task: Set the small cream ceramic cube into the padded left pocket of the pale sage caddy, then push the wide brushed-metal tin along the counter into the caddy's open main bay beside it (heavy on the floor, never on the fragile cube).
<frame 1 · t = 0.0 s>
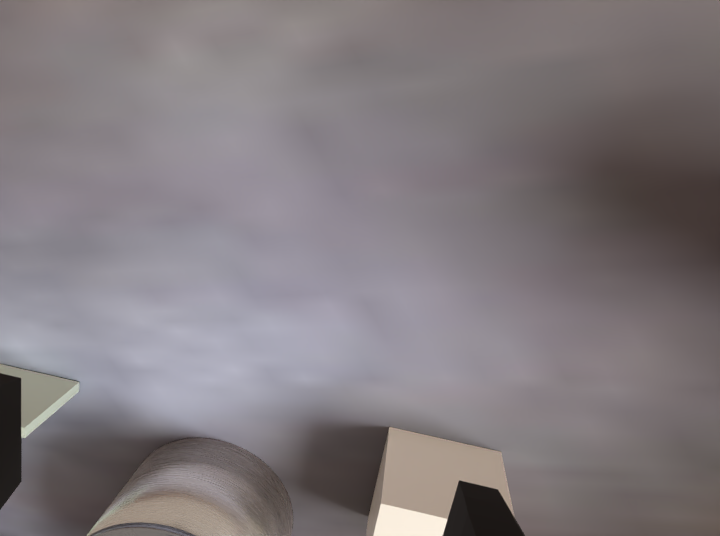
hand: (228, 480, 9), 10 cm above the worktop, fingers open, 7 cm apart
cube: (432, 483, 21), on the worktop
tin: (212, 508, 22), on the worktop
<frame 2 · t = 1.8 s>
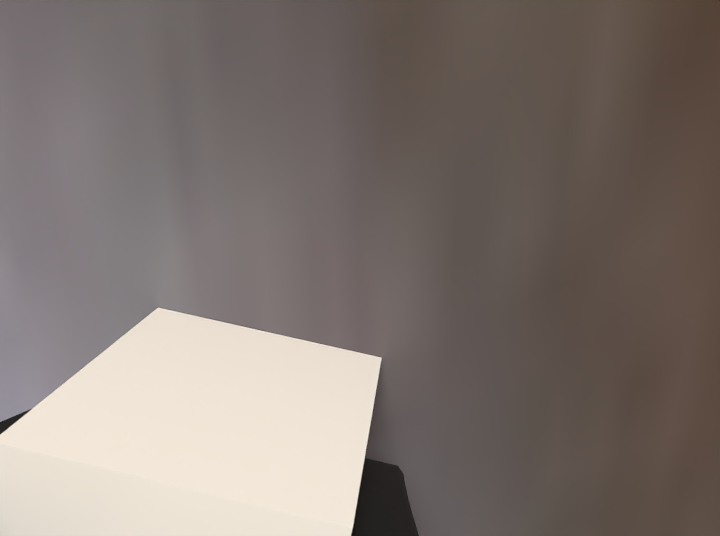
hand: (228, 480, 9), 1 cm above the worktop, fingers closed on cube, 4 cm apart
cube: (254, 429, 10), on the worktop, touching gripper
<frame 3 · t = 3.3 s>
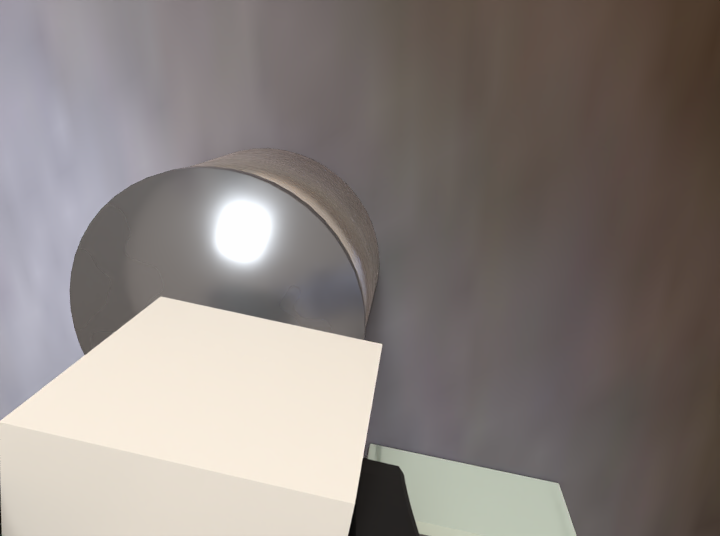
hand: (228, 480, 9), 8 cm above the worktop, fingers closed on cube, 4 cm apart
cube: (256, 417, 11), point 7 cm above the worktop, touching gripper
tin: (270, 258, 17), on the worktop
when the fingers open (4 cm above the worktop, at t = 5.2 s): cube stays where it is, resting on caddy.
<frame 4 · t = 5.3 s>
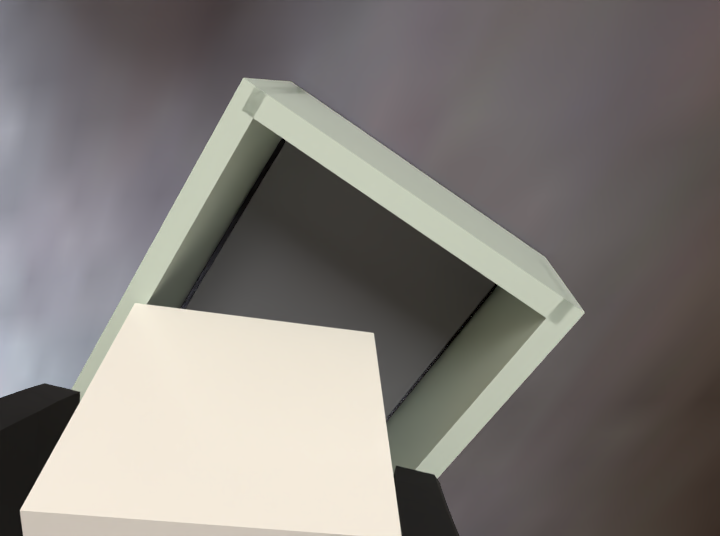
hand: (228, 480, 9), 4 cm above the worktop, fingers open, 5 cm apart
cube: (246, 408, 10), point 2 cm above the worktop, tilted 15°, touching caddy, gripper
pad: (279, 372, 13), on the worktop
caddy: (120, 269, 13), on the worktop
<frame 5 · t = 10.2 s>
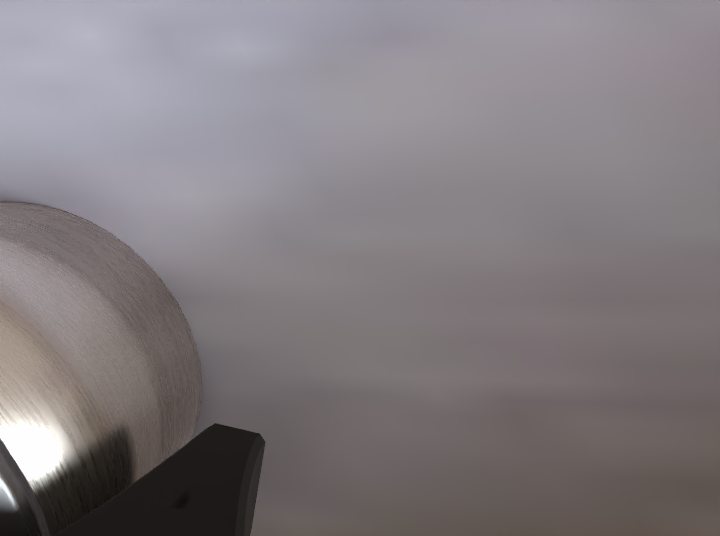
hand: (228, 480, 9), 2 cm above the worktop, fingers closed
tin: (42, 365, 11), on the worktop, touching gripper
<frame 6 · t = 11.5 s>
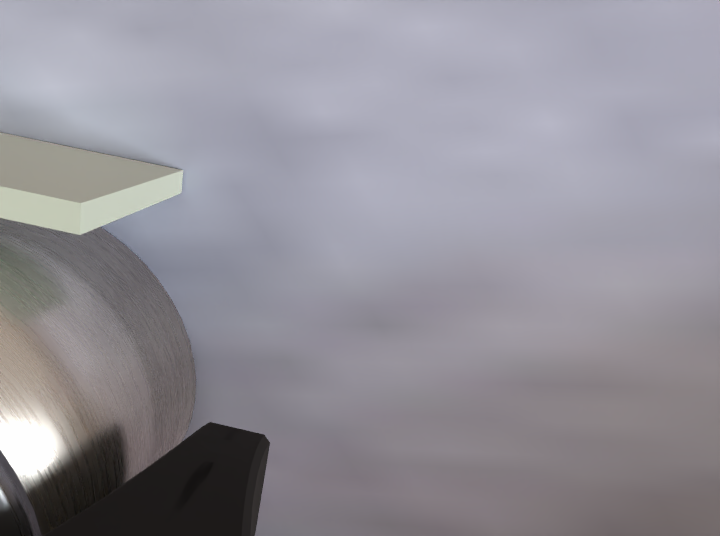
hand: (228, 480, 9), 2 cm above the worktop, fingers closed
tin: (35, 361, 11), on the worktop, touching gripper
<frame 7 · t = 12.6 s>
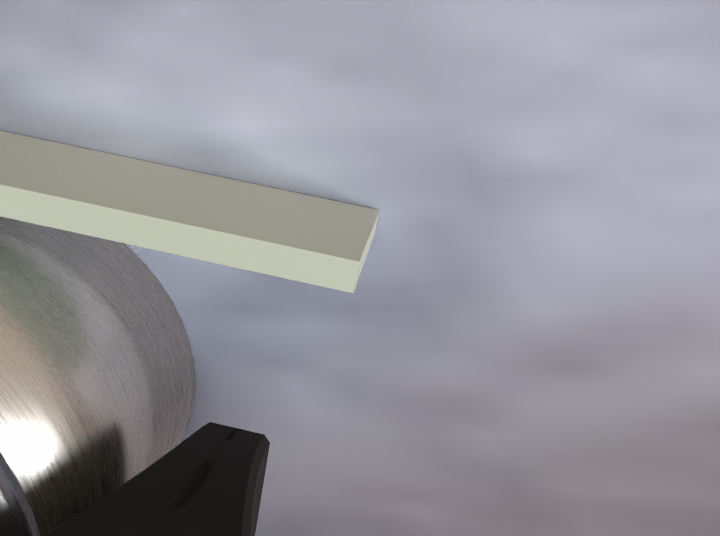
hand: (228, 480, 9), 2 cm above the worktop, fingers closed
tin: (35, 360, 11), on the worktop, touching gripper
caddy: (57, 487, 12), on the worktop
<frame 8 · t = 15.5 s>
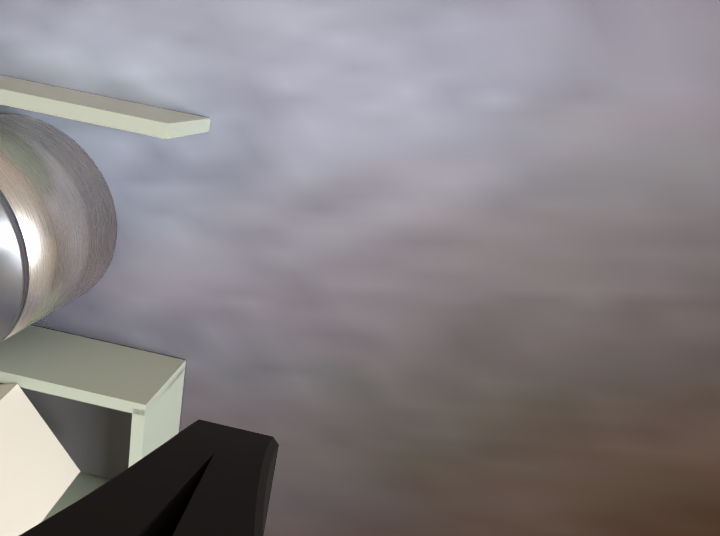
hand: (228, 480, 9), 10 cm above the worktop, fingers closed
cube: (4, 429, 19), point 2 cm above the worktop, tilted 17°, touching caddy
pad: (37, 399, 21), on the worktop
tin: (25, 213, 19), on the worktop
caddy: (38, 296, 20), on the worktop
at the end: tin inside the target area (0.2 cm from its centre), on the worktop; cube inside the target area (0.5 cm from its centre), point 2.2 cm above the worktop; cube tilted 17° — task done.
